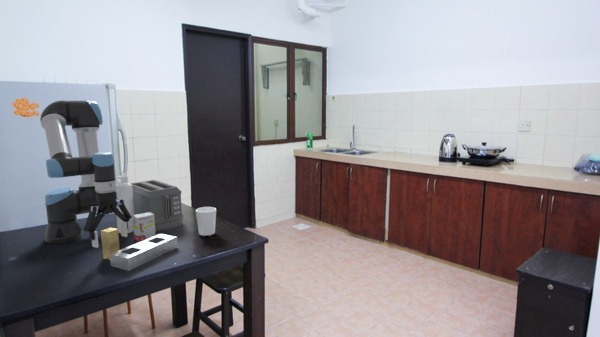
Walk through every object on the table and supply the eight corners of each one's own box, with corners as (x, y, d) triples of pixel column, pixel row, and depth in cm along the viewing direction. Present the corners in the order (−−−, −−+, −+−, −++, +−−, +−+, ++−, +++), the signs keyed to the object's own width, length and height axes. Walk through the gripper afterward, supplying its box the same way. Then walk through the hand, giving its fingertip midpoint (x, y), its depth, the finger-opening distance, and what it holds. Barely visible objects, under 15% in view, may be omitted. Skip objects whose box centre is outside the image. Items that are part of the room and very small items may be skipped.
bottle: (139, 229, 189) (135, 175, 184) (125, 234, 181) (121, 178, 176) (127, 227, 192) (123, 174, 187) (114, 232, 185) (109, 176, 180)
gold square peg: (103, 258, 153) (100, 230, 151) (112, 254, 157) (110, 227, 155) (110, 260, 151) (108, 232, 149) (120, 256, 155) (117, 229, 153)
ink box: (138, 242, 171) (136, 217, 169) (133, 239, 175) (131, 215, 173) (156, 237, 177) (154, 213, 175) (151, 235, 181) (150, 211, 179)
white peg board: (110, 266, 146) (109, 254, 145) (160, 243, 169) (160, 233, 168) (128, 270, 142) (127, 258, 141) (177, 247, 165) (177, 236, 164)
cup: (202, 239, 175) (201, 213, 173) (193, 234, 182) (191, 209, 180) (221, 234, 181) (220, 209, 179) (211, 229, 188) (210, 205, 186)
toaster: (152, 233, 183) (149, 193, 179) (125, 219, 206) (122, 183, 202) (186, 225, 196) (185, 187, 192) (157, 212, 219) (155, 178, 216)
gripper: (82, 198, 137) (88, 253, 140) (137, 186, 159) (141, 233, 162) (69, 196, 140) (75, 250, 143) (125, 184, 162) (129, 231, 165)
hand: (110, 241), depth 153 cm, fingers open, 13 cm apart
